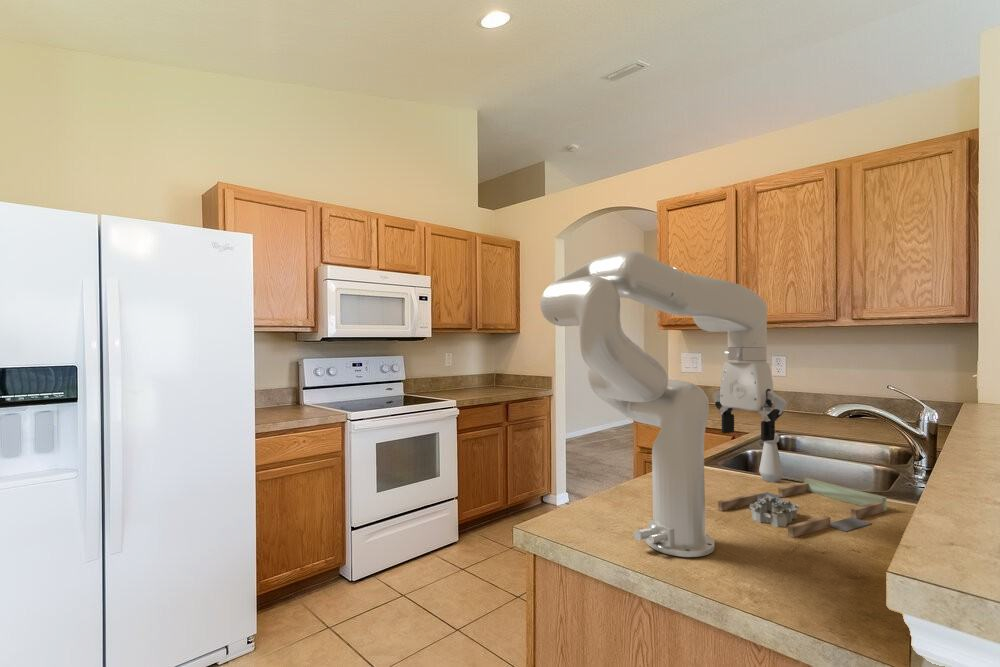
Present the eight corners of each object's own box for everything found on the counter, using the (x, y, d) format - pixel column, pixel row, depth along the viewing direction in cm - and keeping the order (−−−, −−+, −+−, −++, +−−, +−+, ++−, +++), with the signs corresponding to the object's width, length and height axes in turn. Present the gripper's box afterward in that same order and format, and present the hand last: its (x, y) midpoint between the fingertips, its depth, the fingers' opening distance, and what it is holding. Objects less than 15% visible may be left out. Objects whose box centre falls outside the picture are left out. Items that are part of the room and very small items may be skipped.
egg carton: (783, 530, 103) (782, 510, 103) (746, 520, 109) (745, 502, 109) (803, 517, 110) (802, 499, 110) (767, 509, 116) (766, 491, 116)
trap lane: (807, 543, 96) (807, 527, 96) (707, 506, 118) (707, 493, 118) (902, 514, 110) (901, 501, 110) (796, 486, 132) (796, 475, 132)
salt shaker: (781, 484, 134) (780, 435, 134) (757, 480, 137) (756, 433, 137) (784, 479, 138) (783, 432, 138) (761, 476, 142) (760, 430, 142)
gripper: (702, 355, 113) (701, 431, 113) (772, 357, 97) (772, 445, 97) (725, 355, 116) (725, 429, 116) (797, 357, 101) (797, 442, 100)
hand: (747, 436), depth 106 cm, fingers open, 9 cm apart
